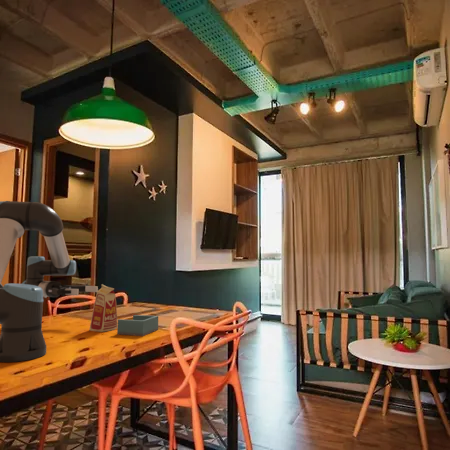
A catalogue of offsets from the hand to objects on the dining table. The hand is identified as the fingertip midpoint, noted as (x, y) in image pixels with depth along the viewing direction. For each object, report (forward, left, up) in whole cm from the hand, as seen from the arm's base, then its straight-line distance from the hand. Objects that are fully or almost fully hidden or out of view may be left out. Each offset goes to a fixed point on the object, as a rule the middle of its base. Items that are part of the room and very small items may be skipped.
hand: (88, 290), depth 163 cm
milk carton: (-6, -8, -17) cm, 20 cm away
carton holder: (-15, -22, -17) cm, 32 cm away
